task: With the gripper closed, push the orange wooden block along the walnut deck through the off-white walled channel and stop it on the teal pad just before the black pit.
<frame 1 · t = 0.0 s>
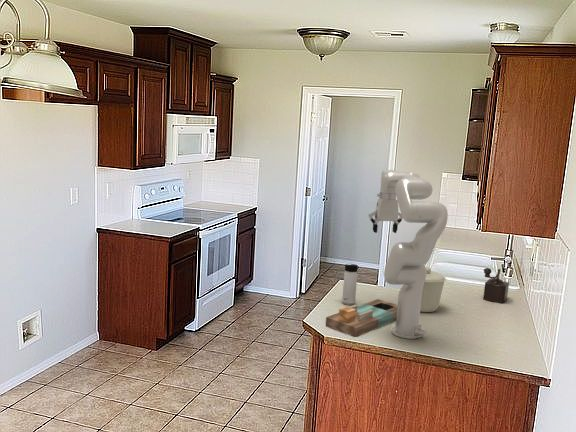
hand: (384, 232, 269), 37 cm above the counter, tool pointing down, fingers open, 9 cm apart
block: (346, 320, 245), point 4 cm above the counter, touching deck
deck: (368, 320, 257), on the counter
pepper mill: (493, 301, 297), on the counter
canister: (423, 309, 277), on the counter
travel mug: (348, 303, 279), on the counter
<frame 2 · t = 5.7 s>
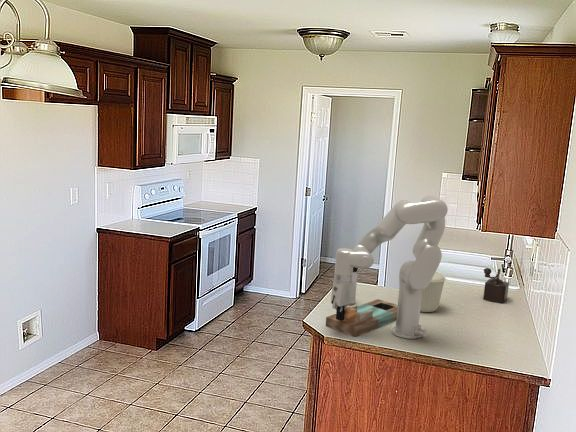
hand: (340, 319, 241), 5 cm above the counter, tool pointing down, fingers closed
block: (346, 319, 245), point 4 cm above the counter, touching deck, gripper
everything else where it was.
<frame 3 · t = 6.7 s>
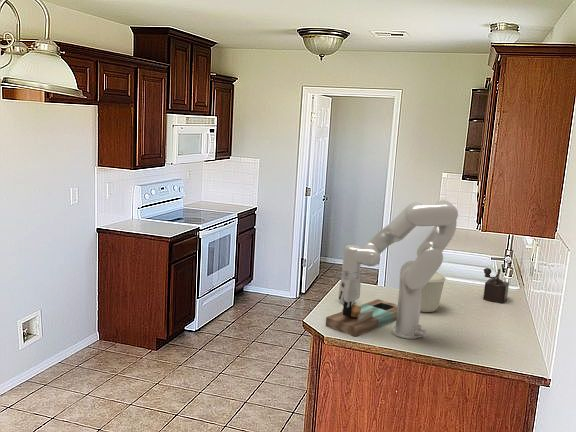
hand: (346, 315, 245), 6 cm above the counter, tool pointing down, fingers closed
block: (351, 315, 248), point 5 cm above the counter, tilted 20°, touching deck, gripper
everything else where it was.
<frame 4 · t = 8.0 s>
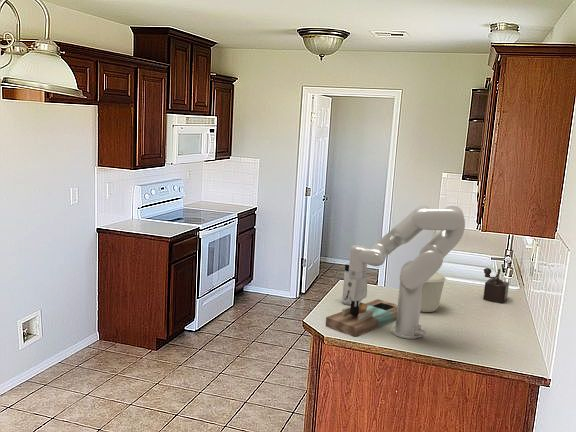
hand: (354, 314, 248), 5 cm above the counter, tool pointing down, fingers closed
block: (357, 313, 251), point 5 cm above the counter, tilted 20°, touching gripper
everything else where it was.
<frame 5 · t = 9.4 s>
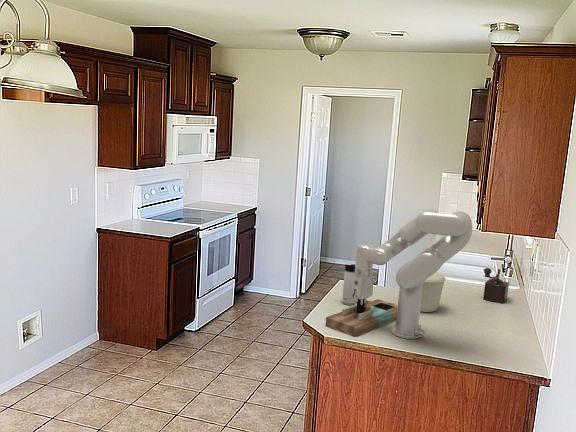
hand: (360, 312, 252), 5 cm above the counter, tool pointing down, fingers closed
block: (362, 311, 255), point 5 cm above the counter, tilted 19°, touching deck, gripper
everything else where it was.
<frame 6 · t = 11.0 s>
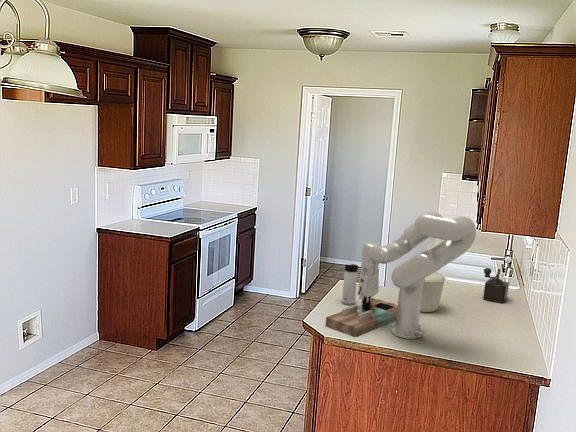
hand: (365, 309, 255), 6 cm above the counter, tool pointing down, fingers closed
block: (367, 308, 258), point 5 cm above the counter, tilted 19°, touching deck, gripper
everything else where it was.
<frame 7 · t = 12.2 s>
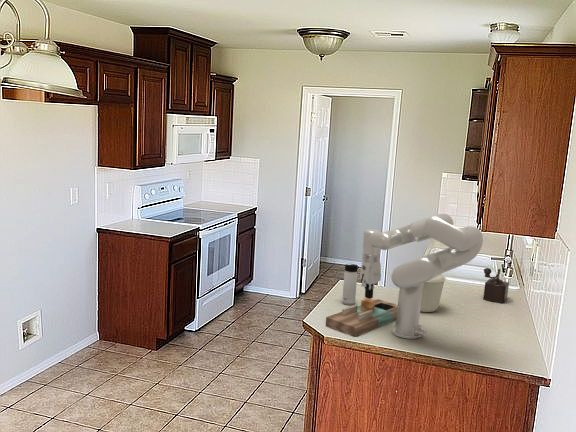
hand: (368, 297, 253), 11 cm above the counter, tool pointing down, fingers closed
block: (367, 310, 259), point 4 cm above the counter, touching deck
everything else where it was.
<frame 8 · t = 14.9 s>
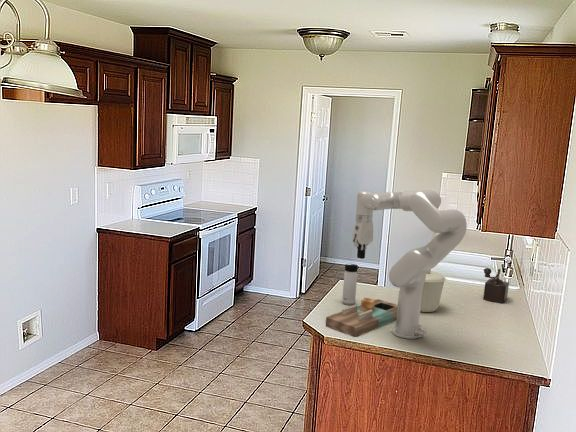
hand: (360, 257, 259), 27 cm above the counter, tool pointing down, fingers closed
nothing on the counter moved.
at the end: block inside the target area (2.1 cm from its centre), point 4.0 cm above the counter; block tilted 0° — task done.
